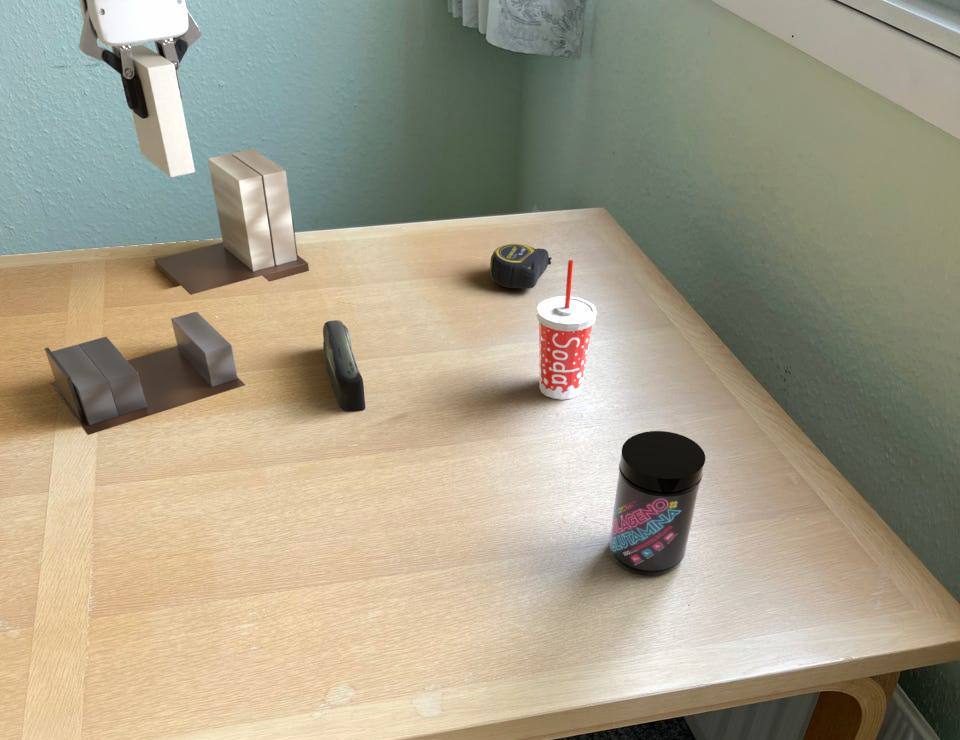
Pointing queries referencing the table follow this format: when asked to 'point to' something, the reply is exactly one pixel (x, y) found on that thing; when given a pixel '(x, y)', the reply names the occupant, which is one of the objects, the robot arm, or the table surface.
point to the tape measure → (518, 265)
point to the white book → (161, 114)
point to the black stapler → (342, 367)
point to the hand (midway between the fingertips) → (156, 110)
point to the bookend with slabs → (242, 228)
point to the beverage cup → (564, 342)
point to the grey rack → (142, 375)
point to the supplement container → (655, 501)
